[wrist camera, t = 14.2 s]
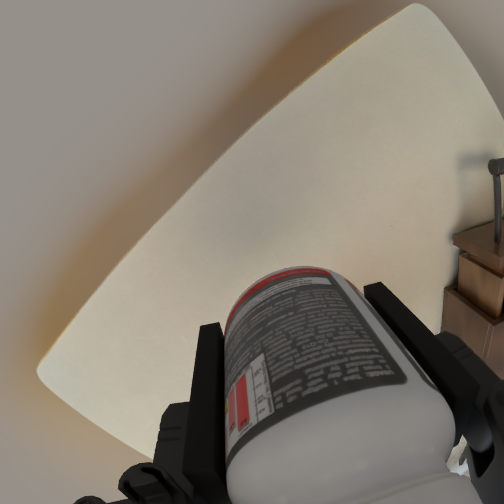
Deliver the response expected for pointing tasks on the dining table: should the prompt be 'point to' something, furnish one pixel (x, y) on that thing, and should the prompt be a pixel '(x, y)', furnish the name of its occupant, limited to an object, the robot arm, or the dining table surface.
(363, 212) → the dining table surface
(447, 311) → the cabinet
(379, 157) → the dining table surface
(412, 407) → the pill bottle
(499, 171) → the drawer
